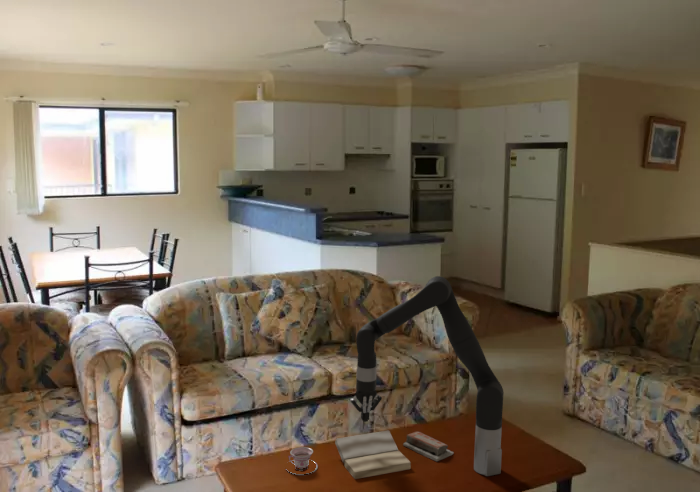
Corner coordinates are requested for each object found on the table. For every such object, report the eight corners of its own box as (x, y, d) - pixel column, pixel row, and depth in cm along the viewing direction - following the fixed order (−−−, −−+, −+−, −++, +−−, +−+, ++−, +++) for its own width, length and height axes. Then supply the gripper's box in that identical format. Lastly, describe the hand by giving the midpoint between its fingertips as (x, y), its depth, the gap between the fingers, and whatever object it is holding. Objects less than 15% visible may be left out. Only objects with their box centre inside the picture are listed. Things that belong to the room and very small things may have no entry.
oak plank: (410, 468, 246) (410, 462, 245) (354, 479, 238) (354, 472, 237) (398, 456, 255) (398, 450, 255) (344, 466, 247) (344, 459, 246)
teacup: (311, 458, 253) (312, 442, 252) (322, 472, 242) (322, 456, 241) (281, 463, 249) (281, 447, 248) (290, 478, 238) (290, 462, 237)
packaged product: (402, 434, 264) (419, 428, 271) (402, 446, 265) (419, 439, 271) (437, 450, 251) (454, 443, 257) (436, 463, 252) (454, 455, 258)
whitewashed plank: (396, 453, 256) (398, 449, 255) (343, 463, 248) (344, 458, 247) (387, 434, 264) (388, 430, 262) (335, 442, 255) (336, 438, 254)
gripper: (353, 382, 247) (352, 427, 249) (386, 378, 252) (385, 422, 254) (346, 375, 254) (345, 419, 256) (378, 372, 258) (377, 414, 261)
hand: (365, 420), depth 255 cm, fingers closed
